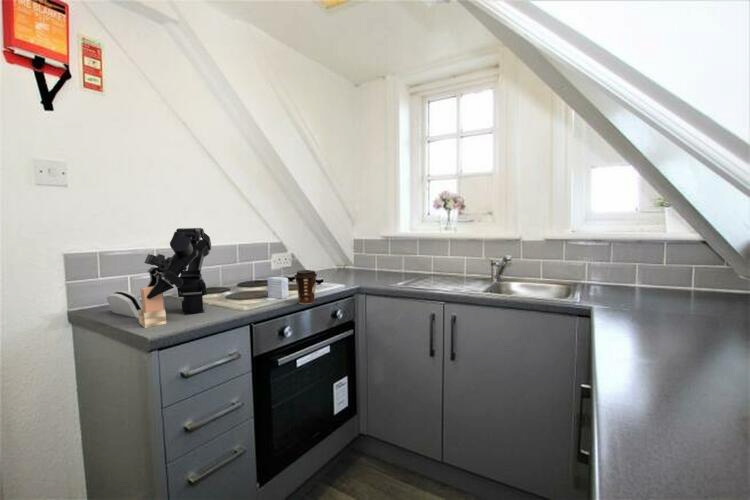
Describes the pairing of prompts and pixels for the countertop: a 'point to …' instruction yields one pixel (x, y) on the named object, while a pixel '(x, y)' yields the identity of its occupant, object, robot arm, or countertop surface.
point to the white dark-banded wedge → (125, 303)
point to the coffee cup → (306, 286)
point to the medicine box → (278, 287)
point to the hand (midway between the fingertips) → (145, 297)
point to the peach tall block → (151, 301)
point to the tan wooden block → (152, 318)
